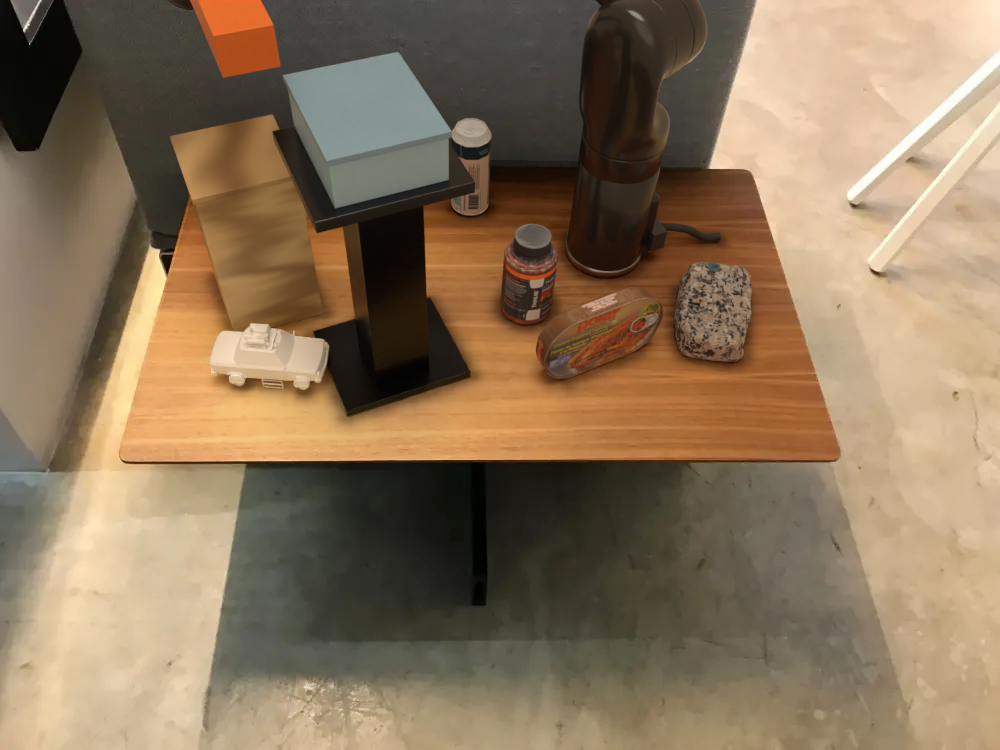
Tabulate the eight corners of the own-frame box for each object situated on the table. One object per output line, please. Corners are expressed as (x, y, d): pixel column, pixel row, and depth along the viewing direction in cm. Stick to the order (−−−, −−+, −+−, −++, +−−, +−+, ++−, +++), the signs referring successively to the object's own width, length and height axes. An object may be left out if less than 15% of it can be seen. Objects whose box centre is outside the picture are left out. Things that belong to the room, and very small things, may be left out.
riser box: (299, 255, 104) (272, 113, 88) (325, 314, 98) (301, 173, 82) (213, 278, 101) (169, 135, 85) (234, 340, 95) (191, 199, 79)
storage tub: (401, 100, 79) (398, 51, 75) (452, 181, 72) (452, 131, 68) (291, 125, 76) (282, 74, 72) (333, 211, 69) (326, 160, 65)
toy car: (323, 397, 91) (315, 356, 85) (211, 388, 91) (196, 347, 85) (333, 354, 94) (326, 312, 89) (225, 346, 94) (212, 304, 89)
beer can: (495, 203, 111) (499, 125, 102) (475, 223, 109) (477, 145, 99) (464, 189, 113) (465, 110, 103) (444, 208, 110) (443, 130, 101)
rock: (672, 280, 104) (680, 253, 100) (744, 289, 103) (754, 262, 100) (671, 359, 96) (679, 332, 93) (749, 369, 96) (760, 343, 92)
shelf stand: (427, 296, 100) (420, 98, 79) (470, 377, 93) (475, 181, 72) (311, 330, 96) (271, 130, 75) (347, 417, 89) (314, 222, 68)
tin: (542, 389, 93) (549, 338, 86) (528, 368, 94) (534, 317, 88) (657, 343, 97) (672, 292, 91) (642, 325, 99) (655, 273, 92)
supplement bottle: (546, 331, 98) (555, 259, 89) (495, 322, 98) (500, 249, 89) (554, 294, 101) (564, 222, 93) (505, 285, 102) (510, 212, 93)
